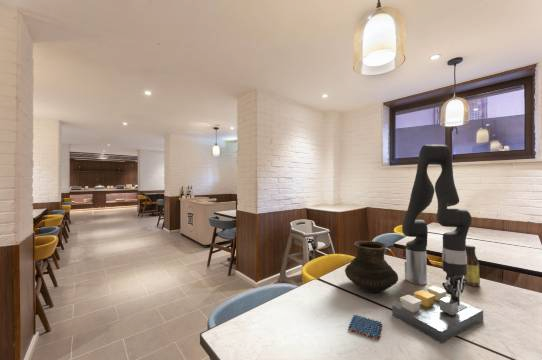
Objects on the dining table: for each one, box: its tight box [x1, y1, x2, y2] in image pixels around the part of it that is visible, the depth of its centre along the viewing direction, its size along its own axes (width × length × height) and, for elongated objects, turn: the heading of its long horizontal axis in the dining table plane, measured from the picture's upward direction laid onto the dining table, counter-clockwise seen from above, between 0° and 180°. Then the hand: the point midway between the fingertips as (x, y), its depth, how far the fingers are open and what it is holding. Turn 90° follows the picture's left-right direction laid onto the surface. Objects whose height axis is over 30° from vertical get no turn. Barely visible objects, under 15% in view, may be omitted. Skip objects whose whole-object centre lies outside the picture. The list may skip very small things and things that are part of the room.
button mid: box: [413, 289, 436, 307], centre depth 94 cm, size 5×5×6 cm
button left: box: [399, 294, 422, 313], centre depth 90 cm, size 5×5×6 cm
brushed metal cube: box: [440, 297, 458, 315], centre depth 86 cm, size 4×4×4 cm
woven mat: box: [347, 314, 383, 341], centre depth 84 cm, size 10×11×2 cm
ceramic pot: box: [344, 240, 399, 294], centre depth 114 cm, size 24×24×22 cm
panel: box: [391, 291, 484, 344], centre depth 90 cm, size 18×28×4 cm, turn 116°
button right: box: [426, 285, 448, 301], centre depth 98 cm, size 5×5×6 cm
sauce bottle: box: [463, 244, 481, 287], centre depth 119 cm, size 6×6×20 cm
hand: (455, 304), depth 88 cm, fingers closed
